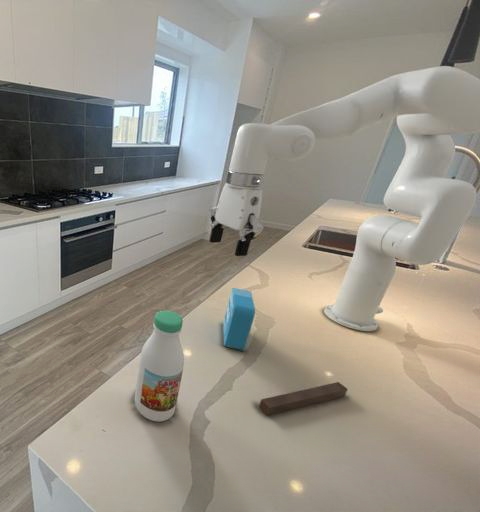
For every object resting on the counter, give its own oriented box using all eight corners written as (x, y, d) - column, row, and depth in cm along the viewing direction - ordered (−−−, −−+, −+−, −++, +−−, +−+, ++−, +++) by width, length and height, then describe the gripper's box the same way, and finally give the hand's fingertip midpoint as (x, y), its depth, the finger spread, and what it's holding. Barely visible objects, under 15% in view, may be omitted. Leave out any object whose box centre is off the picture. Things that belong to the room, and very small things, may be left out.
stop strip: (335, 388, 63) (338, 381, 63) (344, 396, 62) (348, 389, 61) (258, 406, 58) (261, 399, 57) (266, 415, 56) (269, 407, 56)
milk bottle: (125, 404, 57) (136, 315, 50) (149, 383, 62) (162, 300, 55) (159, 431, 52) (176, 337, 45) (182, 406, 57) (201, 318, 50)
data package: (222, 323, 84) (232, 285, 80) (240, 326, 83) (250, 289, 79) (224, 348, 74) (234, 307, 69) (243, 353, 73) (256, 311, 68)
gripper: (287, 187, 64) (264, 260, 70) (231, 176, 79) (217, 237, 85) (259, 186, 62) (238, 262, 68) (207, 175, 77) (195, 238, 83)
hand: (226, 248), depth 77 cm, fingers open, 9 cm apart
